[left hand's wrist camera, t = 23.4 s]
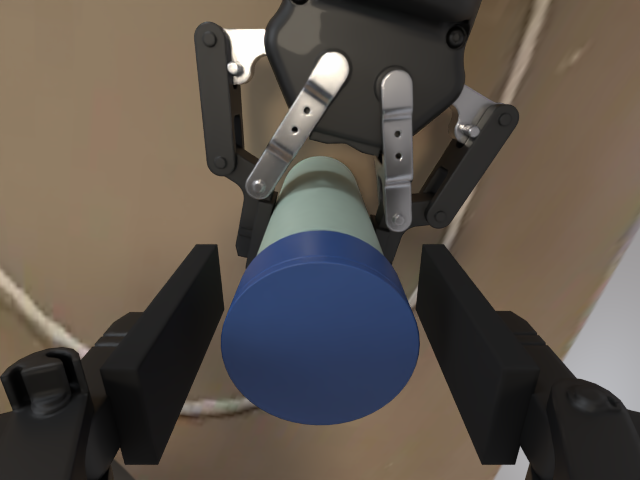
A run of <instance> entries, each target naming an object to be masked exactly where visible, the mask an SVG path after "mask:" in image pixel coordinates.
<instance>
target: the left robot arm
mask: <svg viewBox="0 0 640 480" xmlns="http://www.w3.org/2000/svg"><path fill="white" fill-rule="evenodd" d="M223 311H224V302H223V293H222V283H221V274H220V265H219V256H218V246H217V244H196V245H195V247H194V248H193V249H192V251H191V252H190V253H189V254H188V256H187V257H186V258H185V260H184V261H183V262H182V263H181V265H180V266H179V267H178V269H177V270H176V271H175V272H174V274H173V275H172V276H171V278H170V279H169V280H168V281H167V283H166V284H165V285H164V287H163V288H162V289H161V291H160V292H159V293H158V294H157V296H156V297H155V298H154V300H153V301H152V302H151V303H150V305H149V306H148V307H147V309H146V310H145V311H144V312H129V313H128V314H126V315H125V316H123V317H121V318H120V319H118V320H117V321H115V322H114V323H113V324H112V325H111V326H110V327H109V328H108V330H107V331H106V332H105V333H104V334H103V337H101V338H100V339H99V340H98V341H97V342H96V343H95V346H94V347H92V348H91V349H90V350H89V351H88V353H87V354H86V355H85V356H84V357H83V358H82V359H81V360H80V356H79V353H78V352H76V351H75V350H74V349H71V348H64V347H59V348H49V349H46V350H42V351H39V352H35V353H33V354H30V355H28V356H26V357H24V358H22V359H20V360H18V361H17V362H15V363H14V364H13V365H11V366H10V367H8V368H7V369H6V371H5V372H4V373H3V374H2V375H1V377H0V379H1V381H2V384H3V386H4V389H5V392H6V394H7V397H8V399H9V402H10V404H11V407H12V409H13V411H11V412H7V413H3V414H0V480H114V477H113V471H112V467H111V462H112V461H113V459H114V457H115V455H116V453H117V452H118V450H119V448H121V452H122V455H123V459H124V463H125V465H158V464H159V461H160V459H161V457H162V454H163V452H164V450H165V447H166V445H167V443H168V440H169V438H170V435H171V433H172V431H173V428H174V426H175V424H176V421H177V419H178V417H179V414H180V412H181V410H182V407H183V405H184V403H185V400H186V398H187V396H188V393H189V391H190V389H191V386H192V384H193V382H194V379H195V377H196V375H197V372H198V370H199V368H200V365H201V363H202V360H203V358H204V356H205V353H206V351H207V349H208V346H209V344H210V342H211V339H212V337H213V335H214V332H215V330H216V328H217V325H218V323H219V321H220V318H221V316H222V314H223ZM416 311H417V314H418V316H419V318H420V321H421V323H422V325H423V328H424V330H425V332H426V335H427V337H428V339H429V342H430V344H431V346H432V349H433V351H434V353H435V356H436V358H437V360H438V363H439V365H440V368H441V370H442V372H443V375H444V377H445V379H446V382H447V384H448V386H449V389H450V391H451V393H452V396H453V398H454V400H455V403H456V405H457V407H458V410H459V412H460V414H461V417H462V419H463V421H464V424H465V426H466V428H467V431H468V433H469V435H470V438H471V440H472V443H473V445H474V447H475V450H476V452H477V454H478V457H479V459H480V461H481V464H482V465H515V463H516V459H517V455H518V452H519V448H520V446H521V448H522V450H523V451H524V453H525V455H526V457H527V459H528V460H529V462H530V464H529V468H528V471H527V474H526V478H525V480H640V412H636V411H631V410H628V409H626V407H625V406H624V405H623V403H622V402H621V400H620V399H618V398H617V397H616V396H615V395H613V394H612V393H611V392H610V391H608V390H606V389H604V388H603V387H601V386H599V385H597V384H595V383H592V382H589V381H586V380H583V379H577V378H576V377H575V376H574V375H573V374H572V372H571V371H570V370H569V369H568V368H567V367H566V366H565V364H564V363H563V362H562V361H561V360H560V359H559V358H558V356H557V355H556V354H555V353H554V352H553V351H552V350H551V348H550V347H549V346H548V345H546V343H545V342H544V340H543V339H542V338H541V337H540V336H539V335H537V332H536V331H535V330H534V329H533V328H532V327H531V326H530V324H529V323H528V322H527V321H526V320H524V319H522V318H521V317H519V316H518V315H516V314H515V313H513V312H511V311H495V310H494V309H493V307H492V306H491V305H490V303H489V302H488V301H487V300H486V298H485V297H484V296H483V294H482V293H481V292H480V291H479V289H478V288H477V287H476V285H475V284H474V283H473V281H472V280H471V279H470V278H469V276H468V275H467V274H466V272H465V271H464V270H463V269H462V267H461V266H460V265H459V263H458V262H457V261H456V260H455V258H454V257H453V256H452V254H451V253H450V252H449V251H448V249H447V248H446V247H445V245H444V244H423V246H422V256H421V265H420V274H419V283H418V293H417V302H416Z"/></svg>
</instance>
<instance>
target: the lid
mask: <svg viewBox="0 0 640 480" xmlns="http://www.w3.org/2000/svg"><path fill="white" fill-rule="evenodd" d="M419 346H420V341H419V331H418V327H417V322H416V320H415V317H414V315H413V312H412V310H411V307H410V305H409V302H408V300H407V298H406V295H405V293H404V290H403V288H402V285H401V283H400V280H399V278H398V275H397V273H396V272H395V270H394V268H393V267H392V265H391V264H390V262H389V261H388V260H387V259H386V258H385V257H384V256H383V255H382V254H381V253H380V252H379V251H378V250H377V249H375V248H374V247H373V246H371V245H370V244H368V243H366V242H365V241H363V240H361V239H359V238H356V237H354V236H351V235H348V234H344V233H340V232H335V231H326V230H319V231H306V232H300V233H296V234H293V235H289V236H287V237H284V238H282V239H279V240H278V241H276V242H274V243H272V244H271V245H269V246H268V247H266V248H265V249H264V250H263V251H261V252H260V253H259V254H258V255H257V256H256V257H255V258H254V259H253V260H252V262H251V263H250V264H249V266H248V267H247V269H246V271H245V273H244V274H243V276H242V279H241V281H240V284H239V286H238V289H237V291H236V293H235V296H234V298H233V301H232V303H231V306H230V308H229V311H228V313H227V316H226V319H225V321H224V324H223V329H222V334H221V351H222V358H223V361H224V364H225V368H226V370H227V372H228V374H229V376H230V378H231V380H232V381H233V383H234V384H235V386H236V387H237V389H238V390H239V391H240V392H241V393H242V394H243V395H244V396H245V397H246V398H247V399H248V400H249V401H250V402H252V403H253V404H254V405H256V406H257V407H259V408H260V409H262V410H264V411H265V412H267V413H269V414H271V415H274V416H276V417H278V418H281V419H284V420H287V421H291V422H295V423H301V424H308V425H332V424H340V423H345V422H350V421H353V420H356V419H359V418H362V417H365V416H367V415H369V414H371V413H373V412H375V411H377V410H379V409H380V408H382V407H383V406H385V405H386V404H387V403H389V402H390V401H391V400H392V399H394V398H395V397H396V396H397V395H398V394H399V393H400V391H401V390H402V389H403V388H404V387H405V385H406V384H407V382H408V381H409V379H410V377H411V376H412V373H413V371H414V369H415V366H416V363H417V359H418V355H419Z"/></svg>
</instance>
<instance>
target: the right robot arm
mask: <svg viewBox="0 0 640 480" xmlns="http://www.w3.org/2000/svg"><path fill="white" fill-rule="evenodd" d="M481 1H482V0H283V1H282V3H281V5H280V7H279V9H278V11H277V12H276V14H275V15H274V16H273V17H272V19H271V20H270V21H269V23H268V25H267V27H266V29H224V28H222V27H220V26H219V25H217V24H215V23H213V22H204V23H202V24H200V25H199V26H198V27H197V29H196V31H195V34H194V41H195V51H196V60H197V70H198V80H199V90H200V99H201V109H202V119H203V129H204V138H205V148H206V158H207V165H208V168H209V169H210V171H211V172H212V173H214V174H215V175H218V176H225V177H227V178H228V179H230V180H231V181H233V182H235V183H236V184H237V185H238V186H239V187H240V188H241V189H242V191H243V195H244V202H243V208H242V213H241V219H240V224H239V230H238V236H237V241H236V249H237V253H238V256H242V257H246V258H247V262H246V269H247V267H248V266H249V264H250V263H251V262H252V260H253V259H254V258H255V257H256V256H257V253H258V251H259V248H260V245H261V243H262V240H263V237H264V234H265V232H266V229H267V226H268V224H269V221H270V218H271V216H272V213H273V210H274V208H275V204H276V199H277V195H278V192H275V191H274V190H275V186H276V184H277V183H278V181H279V180H280V178H281V177H282V175H283V174H284V172H285V170H286V169H287V167H288V166H289V164H290V163H291V162H292V160H293V159H294V157H295V156H296V154H297V153H298V151H299V150H300V148H301V147H302V145H303V144H304V142H305V141H306V139H307V138H308V136H309V137H310V138H309V139H310V140H314V141H318V142H322V143H326V144H332V143H345V144H348V145H349V146H351V147H353V148H355V149H356V150H358V151H360V152H362V153H366V154H370V155H374V162H375V170H376V176H377V192H378V210H377V213H376V216H375V215H370V220H371V223H372V225H373V228H374V231H375V233H376V236H377V239H378V241H379V244H380V247H381V249H382V252H383V255H384V257H385V258H386V259H387V260H388V261H389V262H390V264H391V265H392V262H393V260H394V257H395V254H396V251H397V248H398V245H399V243H400V240H401V237H402V235H403V234H404V232H405V231H407V230H408V229H409V228H412V227H415V226H424V225H430V226H432V227H434V228H438V229H439V228H444V227H446V226H447V225H449V224H450V222H451V221H452V220H453V218H454V217H455V215H456V214H457V212H458V211H459V209H460V208H461V206H462V205H463V203H464V202H465V201H466V199H467V198H468V196H469V195H470V193H471V192H472V190H473V189H474V187H475V186H476V184H477V183H478V181H479V180H480V178H481V177H482V176H483V174H484V173H485V171H486V170H487V168H488V167H489V165H490V164H491V162H492V161H493V159H494V158H495V156H496V155H497V154H498V152H499V151H500V149H501V148H502V146H503V145H504V143H505V142H506V140H507V139H508V137H509V136H510V134H511V133H512V131H513V130H514V129H515V127H516V125H517V123H518V121H519V113H518V111H517V109H516V108H515V107H514V106H512V105H508V104H503V103H497V102H493V101H491V100H490V99H488V98H486V97H485V96H483V95H481V94H480V93H478V92H476V91H475V90H473V89H471V88H470V87H468V86H466V85H465V71H464V50H465V45H466V42H467V40H468V37H469V35H470V32H471V29H472V27H473V24H474V21H475V18H476V15H477V13H478V10H479V7H480V4H481ZM264 56H267V57H268V60H269V62H270V65H271V67H272V69H273V72H274V74H275V77H276V79H277V82H278V84H279V86H280V89H281V91H282V94H283V96H284V99H285V101H286V103H287V106H288V108H289V111H288V113H287V114H286V116H285V118H284V119H283V121H282V122H281V124H280V126H279V127H278V129H277V130H276V132H275V134H274V135H273V137H272V139H271V140H270V142H269V144H268V145H267V147H266V149H265V151H264V152H263V154H262V156H261V157H260V159H258V158H256V157H255V156H253V155H252V154H250V153H249V152H247V151H246V150H244V134H243V119H242V104H241V88H240V84H246V83H248V82H249V81H250V80H251V79H252V78H253V75H254V69H255V65H256V63H257V61H258V60H259V59H260V58H262V57H264ZM448 107H450V109H451V111H452V119H451V121H450V124H449V127H448V132H449V135H450V137H451V138H452V141H451V142H450V144H449V146H448V147H447V149H446V150H445V152H444V154H443V155H442V157H441V158H440V160H439V162H438V163H437V165H436V166H435V168H434V170H433V171H432V173H431V174H430V176H429V177H428V179H427V181H426V182H425V184H424V185H423V187H422V189H421V190H420V192H419V193H416V194H411V182H412V180H413V143H412V136H414V135H415V134H416V133H417V132H419V131H420V130H421V129H422V128H424V127H425V126H426V125H427V124H429V123H430V122H431V121H432V120H434V119H435V118H436V117H437V116H438V115H440V114H441V113H442V112H443V111H445V110H446V109H447V108H448Z"/></svg>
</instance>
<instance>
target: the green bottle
mask: <svg viewBox="0 0 640 480" xmlns="http://www.w3.org/2000/svg"><path fill="white" fill-rule="evenodd" d="M319 230H326V231H335V232H340V233H344V234H348V235H351V236H354V237H356V238H359V239H361V240H363V241H365V242H366V243H368V244H370V245H371V246H373V247H374V248H375V249H377V250H378V251H379V252H380V253H381V254H382V255H383V252H382V249H381V247H380V244H379V241H378V239H377V236H376V233H375V231H374V228H373V225H372V223H371V220H370V217H369V215H368V212H367V209H366V207H365V204H364V201H363V198H362V196H361V193H360V190H359V188H358V185H357V182H356V180H355V178H354V176H353V174H352V172H351V171H350V170H349V168H348V167H346V166H345V165H344V164H343V163H341V162H340V161H338V160H336V159H334V158H331V157H326V156H314V157H310V158H307V159H304V160H302V161H300V162H299V163H297V164H296V165H295V166H294V167H293V168H292V169H291V170H290V171H289V173H288V174H287V176H286V178H285V181H284V183H283V186H282V189H281V191H280V194H279V197H278V199H277V202H276V205H275V208H274V210H273V213H272V216H271V218H270V221H269V224H268V226H267V229H266V232H265V234H264V237H263V240H262V243H261V245H260V248H259V251H258V253H257V255H258V254H259V253H260V252H261V251H263V250H264V249H265V248H266V247H268V246H269V245H271V244H272V243H274V242H276V241H278V240H279V239H282V238H284V237H287V236H289V235H293V234H296V233H300V232H306V231H319ZM383 256H384V255H383Z"/></svg>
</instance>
